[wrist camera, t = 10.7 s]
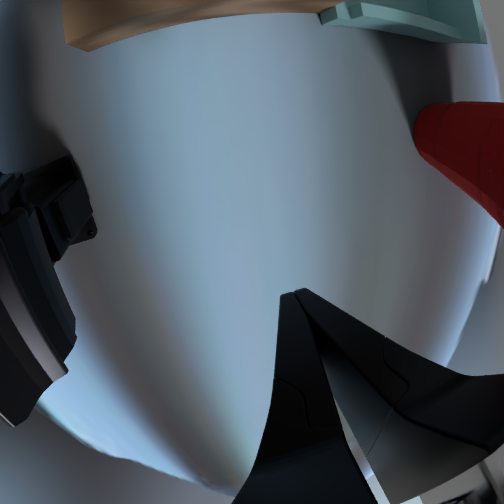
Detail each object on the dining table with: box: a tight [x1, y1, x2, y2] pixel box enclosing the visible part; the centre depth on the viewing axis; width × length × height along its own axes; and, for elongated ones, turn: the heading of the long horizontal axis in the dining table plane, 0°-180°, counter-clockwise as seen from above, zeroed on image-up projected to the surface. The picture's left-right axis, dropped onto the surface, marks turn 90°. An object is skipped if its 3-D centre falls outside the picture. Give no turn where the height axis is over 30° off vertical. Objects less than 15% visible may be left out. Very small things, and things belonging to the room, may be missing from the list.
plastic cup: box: [414, 101, 504, 229], centre depth 16 cm, size 11×11×12 cm
